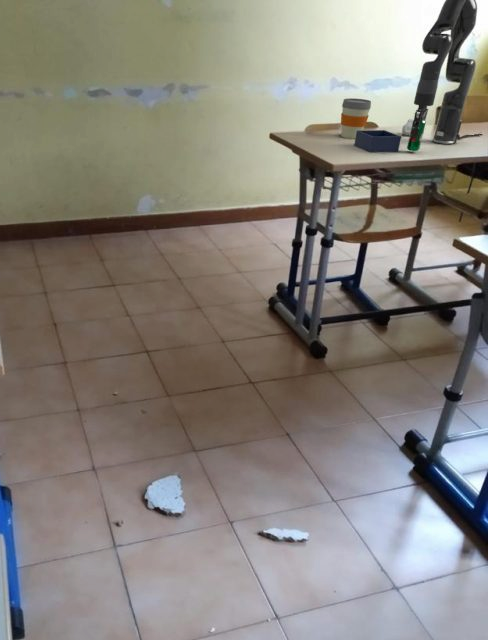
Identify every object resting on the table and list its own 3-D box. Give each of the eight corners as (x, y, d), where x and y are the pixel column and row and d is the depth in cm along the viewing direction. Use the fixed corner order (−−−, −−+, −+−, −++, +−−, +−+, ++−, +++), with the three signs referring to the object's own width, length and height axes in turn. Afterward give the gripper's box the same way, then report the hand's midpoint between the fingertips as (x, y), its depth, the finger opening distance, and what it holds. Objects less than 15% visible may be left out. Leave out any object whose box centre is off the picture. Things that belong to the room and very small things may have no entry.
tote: (381, 144, 265) (384, 130, 262) (398, 151, 254) (401, 136, 251) (354, 145, 262) (356, 130, 258) (369, 152, 251) (372, 137, 248)
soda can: (419, 151, 251) (427, 120, 244) (407, 150, 252) (414, 119, 245) (418, 149, 255) (425, 118, 248) (406, 148, 256) (412, 117, 249)
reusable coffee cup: (340, 139, 272) (346, 102, 263) (334, 133, 282) (340, 97, 274) (368, 139, 272) (375, 103, 264) (360, 134, 283) (367, 98, 274)
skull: (396, 128, 283) (409, 108, 283) (400, 142, 289) (414, 122, 290) (410, 130, 278) (424, 109, 278) (415, 144, 284) (429, 123, 285)
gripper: (432, 94, 234) (421, 141, 244) (439, 90, 245) (428, 135, 254) (412, 92, 237) (402, 138, 247) (420, 89, 248) (410, 133, 257)
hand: (415, 137), depth 250 cm, fingers closed on soda can, 5 cm apart
